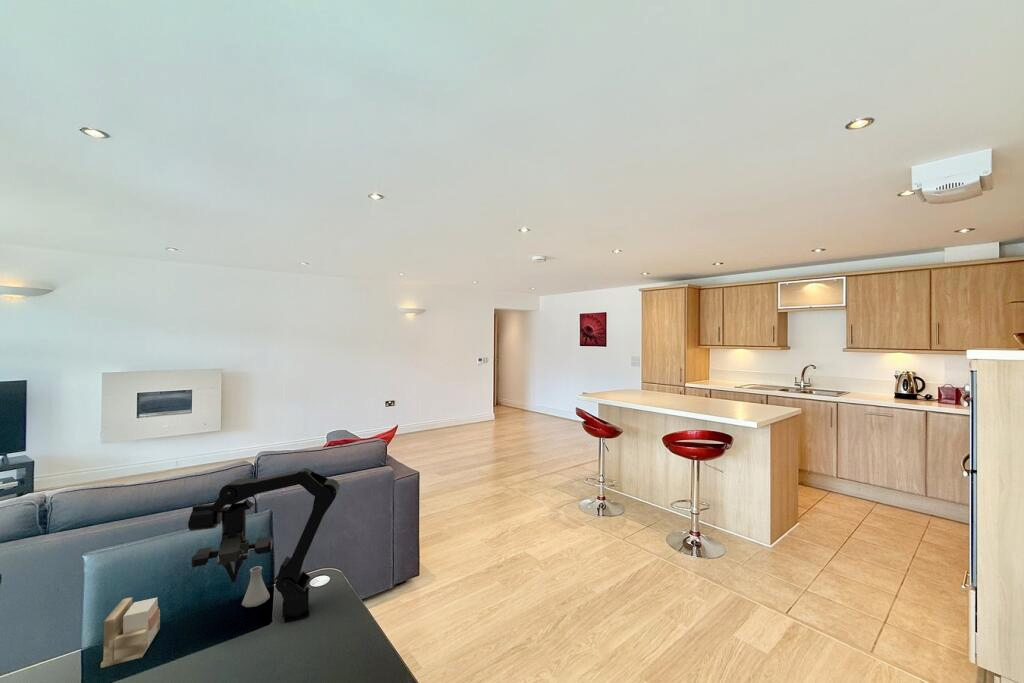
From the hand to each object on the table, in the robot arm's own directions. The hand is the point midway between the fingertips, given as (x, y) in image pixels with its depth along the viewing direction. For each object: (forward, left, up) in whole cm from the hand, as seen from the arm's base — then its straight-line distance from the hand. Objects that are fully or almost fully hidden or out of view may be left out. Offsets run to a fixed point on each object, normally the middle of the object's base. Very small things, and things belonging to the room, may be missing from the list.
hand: (234, 581), depth 118 cm
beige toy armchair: (+22, -1, -12) cm, 25 cm away
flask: (-4, -11, -12) cm, 17 cm away
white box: (+21, -1, -11) cm, 23 cm away
